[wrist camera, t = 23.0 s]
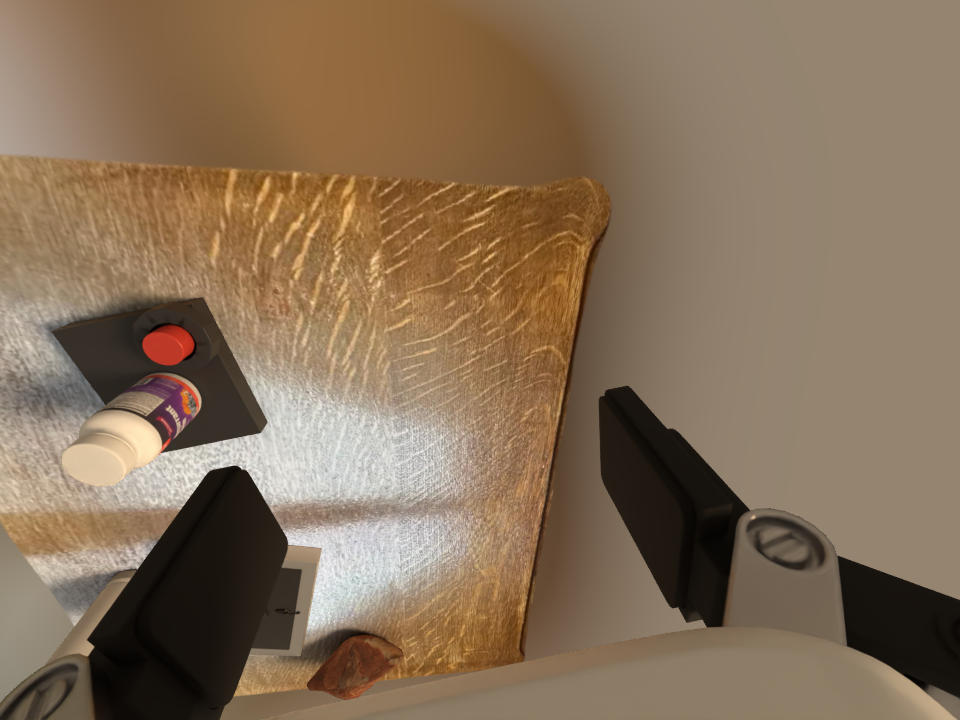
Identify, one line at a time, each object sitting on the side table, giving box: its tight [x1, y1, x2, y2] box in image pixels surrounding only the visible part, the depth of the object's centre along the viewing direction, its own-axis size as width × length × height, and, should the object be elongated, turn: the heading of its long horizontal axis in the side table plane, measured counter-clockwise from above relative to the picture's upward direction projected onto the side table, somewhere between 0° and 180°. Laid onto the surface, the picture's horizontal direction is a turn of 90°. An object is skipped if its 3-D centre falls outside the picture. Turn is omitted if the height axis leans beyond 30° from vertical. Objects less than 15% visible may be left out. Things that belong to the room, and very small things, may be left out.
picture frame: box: [249, 545, 322, 656], centre depth 52 cm, size 16×3×21 cm
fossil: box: [307, 635, 404, 700], centre depth 57 cm, size 13×8×10 cm
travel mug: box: [46, 570, 137, 665], centre depth 41 cm, size 6×7×20 cm
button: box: [142, 325, 195, 365], centre depth 33 cm, size 3×3×2 cm
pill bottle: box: [61, 372, 201, 486], centre depth 33 cm, size 5×5×10 cm
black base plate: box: [52, 298, 267, 453], centre depth 36 cm, size 14×13×4 cm
